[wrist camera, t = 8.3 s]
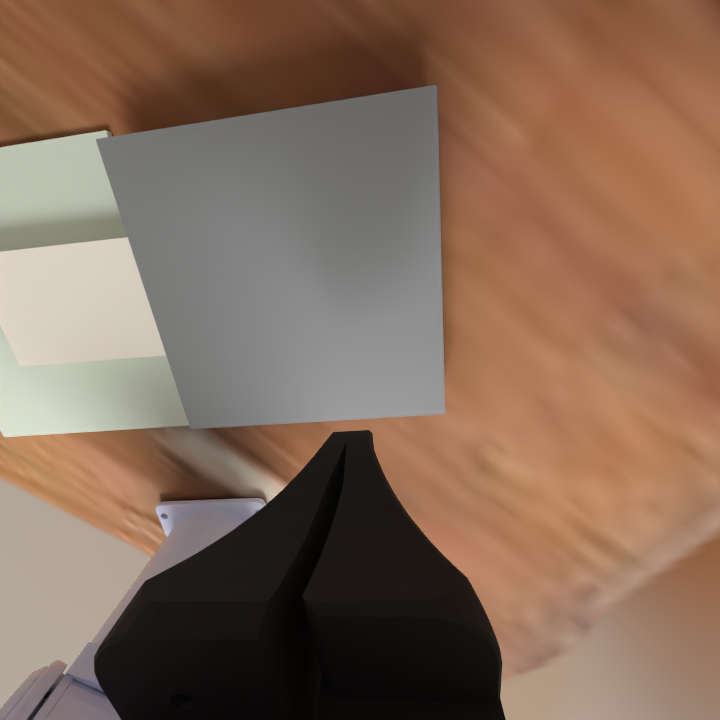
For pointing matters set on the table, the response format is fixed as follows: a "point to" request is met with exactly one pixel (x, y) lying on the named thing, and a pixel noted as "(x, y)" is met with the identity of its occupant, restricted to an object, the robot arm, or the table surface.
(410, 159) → the grey flat square block
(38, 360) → the card case
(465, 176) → the table surface
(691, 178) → the table surface
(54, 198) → the mat
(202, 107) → the table surface
